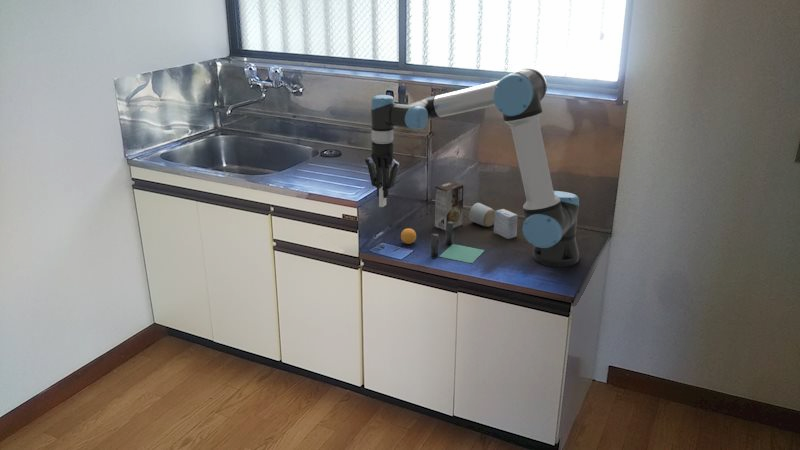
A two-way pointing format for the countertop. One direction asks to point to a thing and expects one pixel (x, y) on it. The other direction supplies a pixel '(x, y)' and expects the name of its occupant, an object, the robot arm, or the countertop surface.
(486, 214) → the white cylinder
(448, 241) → the post
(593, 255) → the countertop surface
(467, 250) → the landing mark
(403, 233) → the ball
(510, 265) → the countertop surface
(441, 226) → the coffee box
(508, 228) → the medicine box
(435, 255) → the post
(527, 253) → the countertop surface
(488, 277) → the countertop surface
